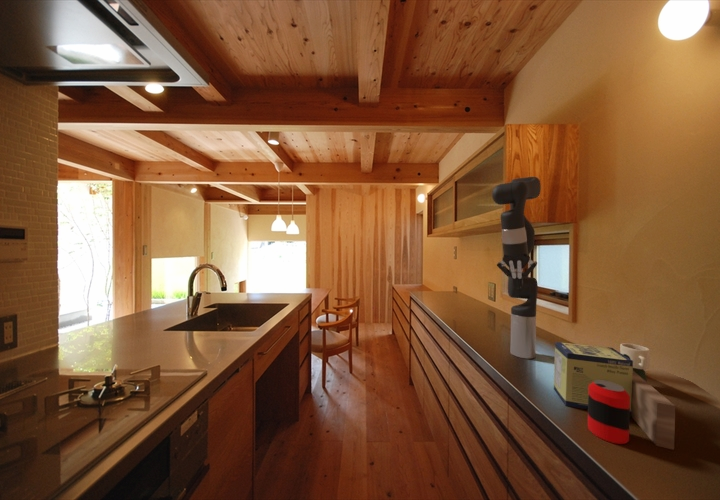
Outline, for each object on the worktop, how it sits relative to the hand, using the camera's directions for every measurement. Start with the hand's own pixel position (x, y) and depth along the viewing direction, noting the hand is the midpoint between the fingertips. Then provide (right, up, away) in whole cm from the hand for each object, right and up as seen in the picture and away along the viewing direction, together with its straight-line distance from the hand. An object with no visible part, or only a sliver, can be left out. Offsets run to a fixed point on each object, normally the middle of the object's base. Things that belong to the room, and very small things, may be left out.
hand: (518, 287), depth 100 cm
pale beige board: (+18, -32, -24) cm, 44 cm away
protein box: (+11, -32, -17) cm, 38 cm away
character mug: (+35, -32, -7) cm, 48 cm away
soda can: (+4, -32, -32) cm, 45 cm away
